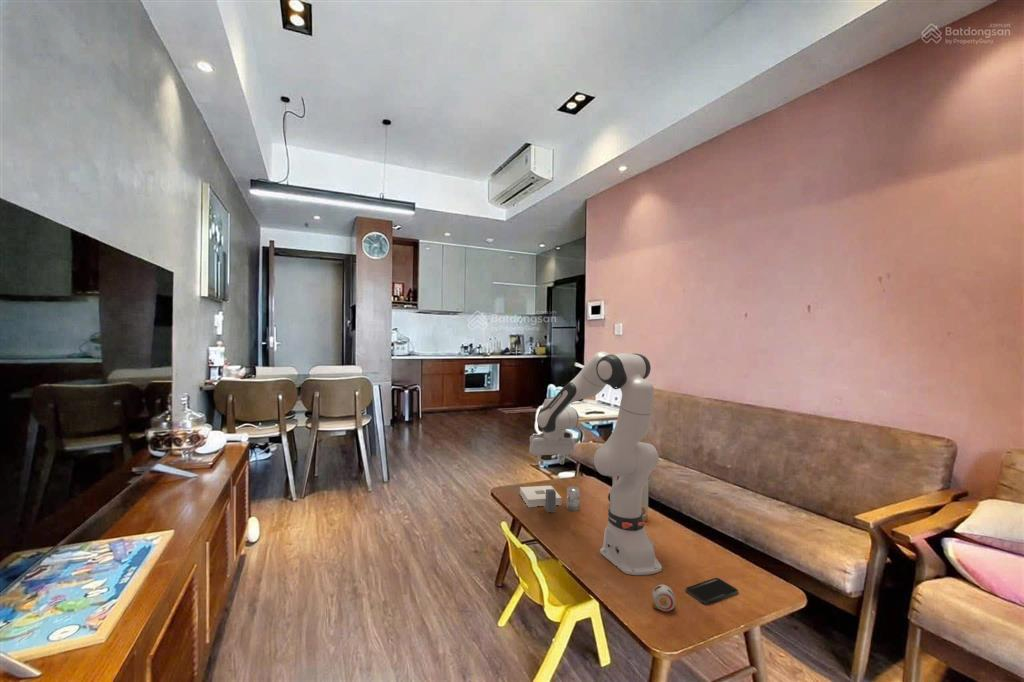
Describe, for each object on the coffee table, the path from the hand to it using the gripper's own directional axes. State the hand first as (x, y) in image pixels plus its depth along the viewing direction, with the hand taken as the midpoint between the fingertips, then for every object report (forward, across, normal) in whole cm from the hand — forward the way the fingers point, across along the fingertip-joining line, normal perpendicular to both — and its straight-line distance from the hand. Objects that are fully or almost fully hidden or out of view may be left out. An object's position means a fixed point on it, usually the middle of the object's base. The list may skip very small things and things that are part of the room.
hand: (551, 464), depth 181 cm
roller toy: (+22, +12, -69) cm, 73 cm away
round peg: (+21, +11, +1) cm, 23 cm away
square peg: (+21, 0, 0) cm, 21 cm away
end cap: (+21, +33, -2) cm, 39 cm away
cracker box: (+21, +31, -14) cm, 40 cm away
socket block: (+21, -1, +13) cm, 24 cm away
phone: (+22, +31, -65) cm, 75 cm away
